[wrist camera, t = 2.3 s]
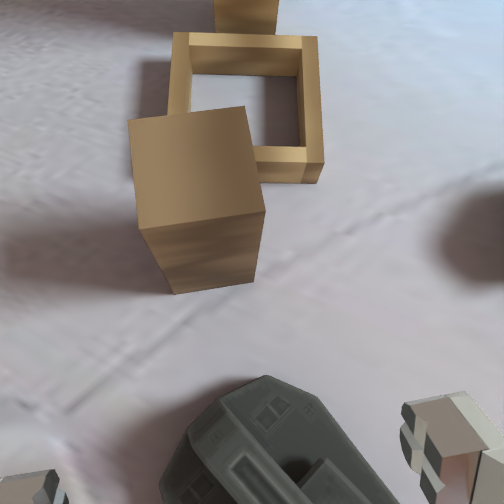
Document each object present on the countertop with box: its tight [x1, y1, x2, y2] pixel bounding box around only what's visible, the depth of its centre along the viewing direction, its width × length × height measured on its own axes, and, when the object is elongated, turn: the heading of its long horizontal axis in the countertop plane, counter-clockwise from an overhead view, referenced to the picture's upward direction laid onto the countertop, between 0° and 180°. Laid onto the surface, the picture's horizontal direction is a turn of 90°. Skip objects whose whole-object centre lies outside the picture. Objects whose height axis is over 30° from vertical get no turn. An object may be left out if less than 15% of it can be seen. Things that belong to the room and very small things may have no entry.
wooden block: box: [128, 106, 266, 295], centre depth 21 cm, size 4×4×10 cm
